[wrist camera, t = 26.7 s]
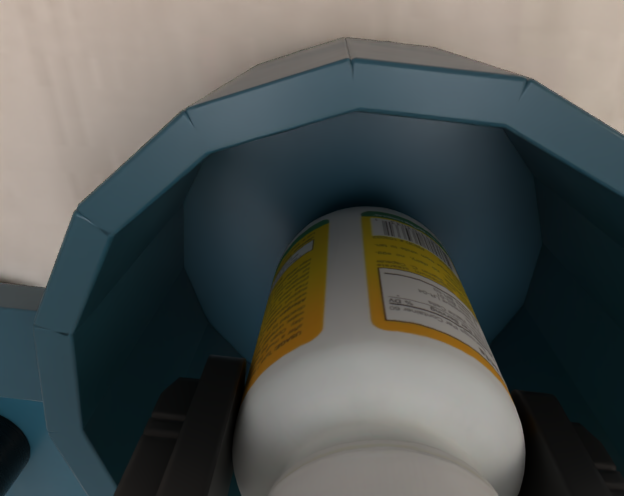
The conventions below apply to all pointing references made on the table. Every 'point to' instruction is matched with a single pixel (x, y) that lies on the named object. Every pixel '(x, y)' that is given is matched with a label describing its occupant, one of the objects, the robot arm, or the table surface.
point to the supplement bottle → (373, 372)
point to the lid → (31, 454)
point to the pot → (312, 205)
